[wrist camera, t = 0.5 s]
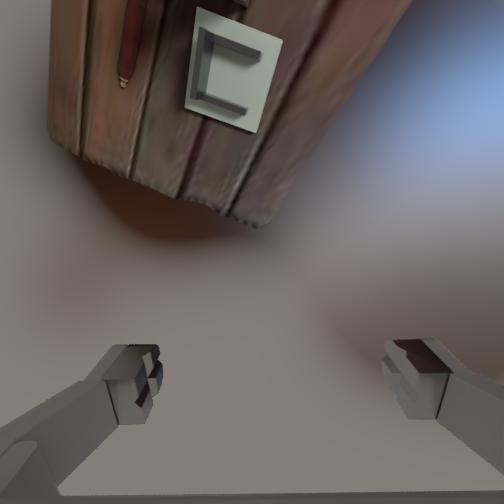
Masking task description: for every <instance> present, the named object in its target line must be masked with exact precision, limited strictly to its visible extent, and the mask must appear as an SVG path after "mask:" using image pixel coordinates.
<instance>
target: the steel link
mask: <svg viewBox="0 0 504 504" xmlns="http://www.w3.org/2000/svg"><path fill="white" fill-rule="evenodd" d="M232 1H234V2H236V3H239V4H241V5H243V6H245V7H247V8H248V4H249V0H232Z"/></svg>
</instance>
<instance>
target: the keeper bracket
mask: <svg viewBox="0 0 504 504" xmlns="http://www.w3.org/2000/svg"><path fill="white" fill-rule="evenodd" d="M282 43H283V40H281V39H279V38H276V37H274V36H271V35H268V34H266V33H263V32H261V31H258V30H256V29H253V28H251V27H248V26H246V25H243V24H240V23H238V22H235V21H233V20H230V19H228V18H225V17H223V16H220V15H218V14H215V13H212V12H210V11H207V10H205V9H202V8H200V7H197V10H196V18H195V26H194V34H193V42H192V50H191V58H190V66H189V75H188V83H187V91H186V99H185V108H187V109H190V110H193V111H196V112H198V113H201V114H204V115H207V116H210V117H212V118H215V119H218V120H221V121H223V122H226V123H229V124H232V125H234V126H237V127H240V128H243V129H246V130H248V131H251V132H254V133H256V132H257V129H258V126H259V122H260V119H261V115H262V112H263V108H264V105H265V102H266V98H267V95H268V91H269V88H270V84H271V81H272V77H273V74H274V70H275V67H276V63H277V60H278V57H279V53H280V50H281V46H282Z"/></svg>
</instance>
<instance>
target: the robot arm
mask: <svg viewBox="0 0 504 504" xmlns="http://www.w3.org/2000/svg"><path fill="white" fill-rule="evenodd" d="M385 351H386V352H387V355H386V356H385V357H384V358H383V359H382V373H383V377H384V379H385V382H386V384H387V385H388V387H389V388H390V389H391V390H392V391H394V392H395V393H397V394H398V395H397V401H398V403H399V405H400V406H401V408H402V410H403V411H404V413H405V414H406V416H407V417H408V419H417V420H419V419H420V420H437V422H438V423H440V424H441V425H442V426H443V427H445V428H446V429H447V430H448V431H450V432H451V433H452V434H453V435H454V436H456V437H457V438H458V439H459V440H461V441H462V442H463V443H465V444H466V445H467V446H468V447H470V448H471V449H472V450H473V451H474V452H476V453H477V454H478V455H479V456H481V457H482V458H483V459H485V460H486V461H487V462H488V463H490V464H491V465H492V466H493V467H494V468H496V469H497V470H498V471H499V472H501V473H502V474H503V475H504V385H501V384H499V383H497V382H495V381H493V380H491V379H489V378H487V377H485V376H483V375H480V374H478V373H472V372H471V371H470V370H469V369H468V368H467V367H465V366H464V365H463V364H462V363H461V362H460V361H459V360H458V359H457V358H456V357H454V355H452V354H451V353H450V352H449V351H448V350H447V349H446V348H445V347H444V346H443V345H442V344H440V343H439V342H438V341H437V340H436V339H434V338H417V339H390V340H389V339H388V340H387V341H386V343H385ZM159 355H160V350H159V346H158V345H156V344H129V345H127V344H126V345H125V344H124V345H114V346H112V347H111V348H110V349H109V350H108V351H107V353H106V354H105V355H104V356H103V357H102V359H101V360H100V361H99V362H98V364H97V365H96V366H95V367H94V369H93V370H92V371H91V372H90V374H89V375H88V376H87V377H86V379H85V380H84V381H78V382H76V383H75V384H73V385H71V386H70V387H68V388H66V389H65V390H63V391H61V392H60V393H58V394H56V395H55V396H53V397H51V398H50V399H48V400H46V401H45V402H43V403H41V404H40V405H38V406H36V407H35V408H33V409H31V410H30V411H28V412H26V413H25V414H23V415H21V416H20V417H18V418H16V419H15V420H13V421H11V422H10V423H8V424H6V425H5V426H3V427H1V428H0V504H504V490H503V491H502V490H501V491H426V492H425V491H424V492H422V491H421V492H349V493H348V492H347V493H271V494H269V493H268V494H192V495H191V494H188V495H187V494H185V495H105V496H104V495H103V496H61V494H60V492H59V490H58V487H57V486H59V484H61V482H63V481H64V480H65V479H66V478H67V477H68V476H69V475H70V474H71V473H72V472H73V471H74V470H75V469H76V468H77V467H78V466H79V465H80V464H81V463H82V462H83V461H84V460H85V459H86V458H87V457H88V456H89V455H90V454H91V453H92V452H93V451H94V450H95V449H96V448H97V447H98V446H99V445H100V444H101V443H102V442H103V441H104V440H105V439H106V438H107V437H108V436H109V435H110V434H111V433H112V432H113V431H114V430H115V429H116V428H117V427H118V425H129V424H145V422H146V420H147V418H148V416H149V413H150V411H151V409H152V406H153V400H152V398H153V397H154V396H155V395H156V394H157V393H158V392H159V390H160V387H161V385H162V379H163V365H162V363H161V362H160V361H159V360H158V357H159Z"/></svg>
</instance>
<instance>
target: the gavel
mask: <svg viewBox="0 0 504 504" xmlns="http://www.w3.org/2000/svg"><path fill="white" fill-rule="evenodd" d="M147 1H148V0H128V4H127V10H126V17H125V23H124V30H123V36H122V42H121V49H120V55H119V62H118V68H119V75H120V76H119V77H120V79H121V82H120V85H121V86H122V87H124V88H125V87H126V82H129V79H130V78H131V76H132V75H133V73H134V68H135V63H136V58H137V53H138V48H139V42H140V37H141V32H142V27H143V22H144V17H145V11H146V6H147Z"/></svg>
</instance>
